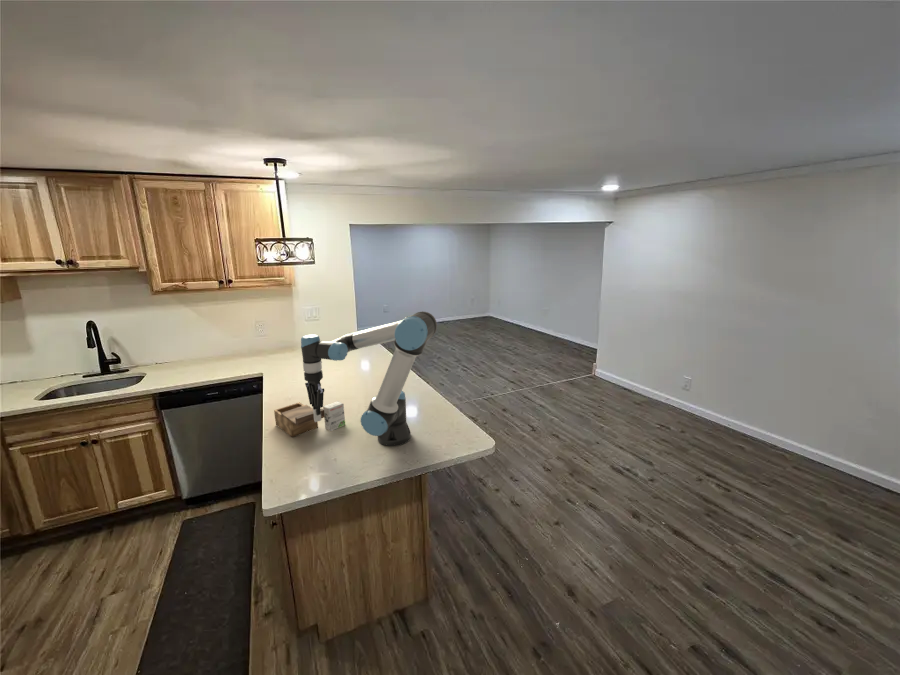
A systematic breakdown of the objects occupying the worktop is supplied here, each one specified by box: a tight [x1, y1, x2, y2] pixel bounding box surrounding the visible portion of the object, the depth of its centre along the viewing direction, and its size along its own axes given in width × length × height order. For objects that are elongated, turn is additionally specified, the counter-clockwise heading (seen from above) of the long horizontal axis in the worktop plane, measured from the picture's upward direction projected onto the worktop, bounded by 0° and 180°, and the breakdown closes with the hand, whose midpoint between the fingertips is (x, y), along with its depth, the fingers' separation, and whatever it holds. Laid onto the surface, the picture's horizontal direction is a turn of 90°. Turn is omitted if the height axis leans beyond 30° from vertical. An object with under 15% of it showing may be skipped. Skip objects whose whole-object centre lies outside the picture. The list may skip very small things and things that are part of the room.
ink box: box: [322, 400, 346, 432], centre depth 195 cm, size 9×5×12 cm, turn 139°
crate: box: [273, 401, 319, 438], centre depth 196 cm, size 18×13×8 cm
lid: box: [281, 404, 325, 427], centre depth 189 cm, size 18×13×4 cm
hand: (317, 420), depth 178 cm, fingers closed
